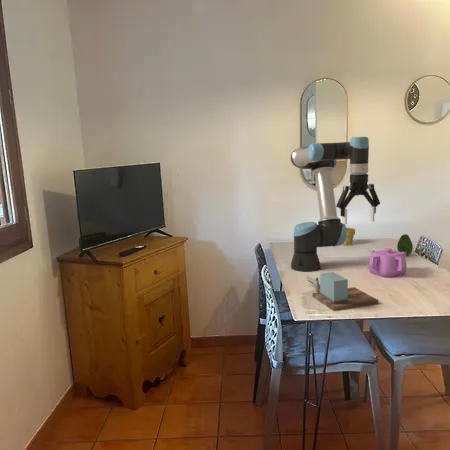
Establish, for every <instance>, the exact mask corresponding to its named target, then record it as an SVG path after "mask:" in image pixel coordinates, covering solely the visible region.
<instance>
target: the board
mask: <svg viewBox="0 0 450 450" xmlns="http://www.w3.org/2000/svg"><path fill="white" fill-rule="evenodd" d="M311 295H312V297H313V298H314V299H316V301H319V302H320V303H321V304H322V305H324V306H326V307H328V308H329V309H330V310H332V311H340V310H346V309H354V308H360V307H365V306H372V305H378V304H379V299H377V298H375V297H373V296H371V295H370V294H368V293H367V292H364V291H362V290H360V289H359V288H357V287H354V286H353V287H348V301H347V302H341V303H335V304H334V303H332V302H331V301H329V300H328V299H326V298H325V297H323V296H322V295H320V291H319V292H317V291H316V292H313V293H312V294H311Z"/></svg>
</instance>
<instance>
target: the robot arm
mask: <svg viewBox="0 0 450 450" xmlns="http://www.w3.org/2000/svg"><path fill="white" fill-rule="evenodd" d="M369 141H370V139H369V137H368V136H353V137H351V138H350V141H345V142H322V143H321V142H316V143H310V145H309V146H303V147H298V148H296V149H294V150H293V151H292V153H291V154H290V161H291V164H292V165H293V166H294V167H296V168H298V169H302V170H311V173H312V174H313V176H314V179H315V187H316V192H317V194H316V196H317V201H318V209H319V217H320V219H319V220H318V221H317V222H316V221H305V222H301V223H297V224H296V225H294V227H293V256H292V258H291V261H290V268H291V269H292V270H294V271H296V272H297V271H299V272H315V271H318V270H320V269H321V262H320V258H319V255H318V248H326V247H327V248H328V247H338V246H343V245H342V244H343V243H344V242H345V239H346V234H347V230H346V228H347V226H346V225H347V224H348V209H347V207H348V206H349V204H350V203H351V201H352V200H353V199H354V198H355V196H357V197H358V196H364V198H365V199H366V200H367V202H368V203H369V206H368V207H369V209H368V211H369V212H368V215H369V216H368V218H369V219H368V221H369V222H373V223H374V222H375V214H376V213H377V207H378V206H379V205H381V201H380V199H379V196H378V194H377V192H376V189H375V184H373V183H369V174H368V173H369V152H370V142H369ZM337 160H339V161H340V160H349V173H350V175H349V185H343V186H342V192H341V194H340V196H339V199H338V201H337V202H336V200H335V199H336V198H335V191H334V185H333V184H334V183H333V177H332V173H333V171H334V170H335V169H334V168H335V167H336V165H337ZM368 183H369V184H368ZM368 191H369V192H368ZM337 208H338V209H339V210H340V213H339V214H340V217H341V218H340V217H338V213H337Z"/></svg>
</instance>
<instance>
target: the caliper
mask: <svg viewBox="0 0 450 450" xmlns="http://www.w3.org/2000/svg"><path fill="white" fill-rule="evenodd" d="M305 279H306V280H307V281H308V282H311V283H312V285H313V286H314V287H315V291H316V293H317V292H320V279H319V277H315V278H312V277H310V276H306V277H305Z"/></svg>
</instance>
